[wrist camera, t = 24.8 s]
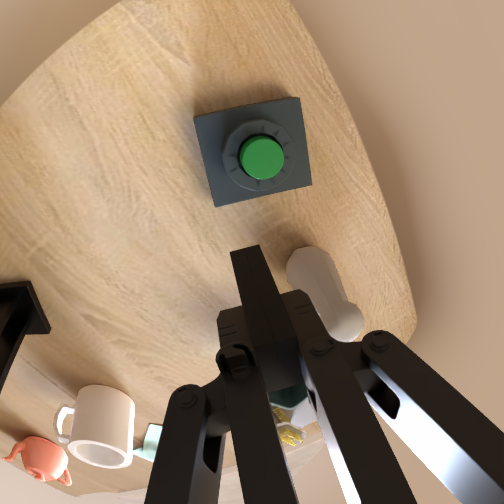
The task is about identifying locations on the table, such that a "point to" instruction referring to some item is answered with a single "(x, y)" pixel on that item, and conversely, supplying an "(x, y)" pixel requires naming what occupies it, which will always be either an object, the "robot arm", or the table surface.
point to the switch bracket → (18, 321)
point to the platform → (293, 422)
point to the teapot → (42, 459)
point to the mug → (99, 426)
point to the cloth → (149, 443)
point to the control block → (242, 129)
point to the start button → (261, 157)
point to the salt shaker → (325, 291)
